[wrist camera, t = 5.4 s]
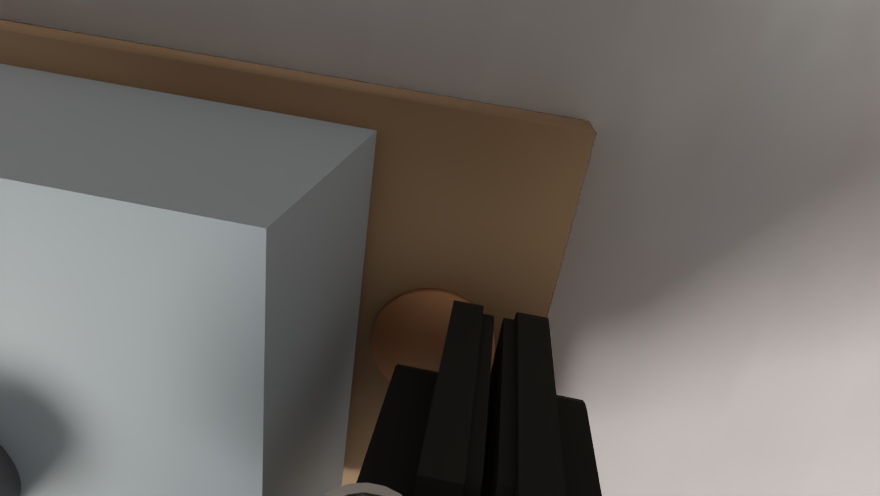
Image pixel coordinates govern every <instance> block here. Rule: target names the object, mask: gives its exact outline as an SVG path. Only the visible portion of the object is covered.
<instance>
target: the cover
mask: <svg viewBox="0 0 880 496" xmlns="http://www.w3.org/2000/svg"><path fill="white" fill-rule="evenodd" d="M376 135H377V130H372V129H366V128H360V127H355V126H349V125H344V124H338V123H332V122H327V121H321V120H315V119H310V118H304V117H298V116H293V115H287V114H282V113H276V112H270V111H265V110H259V109H253V108H248V107H242V106H237V105H231V104H225V103H220V102H214V101H208V100H203V99H197V98H191V97H186V96H180V95H175V94H169V93H163V92H158V91H152V90H146V89H141V88H135V87H130V86H124V85H118V84H113V83H107V82H101V81H96V80H90V79H84V78H79V77H73V76H68V75H62V74H56V73H51V72H45V71H39V70H34V69H28V68H23V67H17V66H11V65H6V64H0V496H323V495H324V494H326V493H327V492H329V491H330V490H332V489H335V488H338V487H341V486H342V478H343V468H344V457H345V447H346V437H347V427H348V417H349V407H350V397H351V387H352V377H353V367H354V357H355V347H356V336H357V326H358V316H359V306H360V296H361V286H362V276H363V266H364V256H365V246H366V236H367V226H368V215H369V205H370V195H371V185H372V175H373V165H374V155H375V145H376Z"/></svg>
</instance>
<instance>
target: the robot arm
mask: <svg viewBox="0 0 880 496" xmlns="http://www.w3.org/2000/svg"><path fill="white" fill-rule="evenodd" d="M483 309H484V306H483V305H478V304H472V303H467V302H462V301H456V300H454V302H453V306H452V311H451V316H450V321H449V325H448V330H447V335H446V339H445V344H444V349H443V354H442V358H441V363H440V368H439V372H436V371H431V370H426V369H420V368H415V367H410V366H405V365H400V364H397V365H396V367H395V369H394V372H393V375H392V378H391V381H390V384H389V387H388V390H387V393H386V396H385V399H384V402H383V405H382V408H381V411H380V414H379V417H378V419H377V422H376V425H375V428H374V431H373V434H372V437H371V440H370V443H369V446H368V449H367V452H366V455H365V458H364V461H363V464H362V467H361V470H360V473H359V476H358V479H357V482H356V483H352V484H347V485H344V486H341V487H338V488H335V489H332V490H330V491H329V492H327V493H326V494H324V495H323V496H602V495H601V489H600V483H599V477H598V472H597V466H596V460H595V454H594V449H593V443H592V437H591V431H590V426H589V420H588V414H587V409H586V405H585V403H584V401H583V400H579V399H574V398H569V397H564V396H559V395H556V389H555V379H554V369H553V359H552V349H551V340H550V330H549V321H548V318H547V317H542V316H536V315H531V314H526V313H520V312H517V313H516V315H515V318H514V319H508V318H503V321H502V325H501V329H500V334H499V338H498V343H497V347H496V352H495V356H494V361H493V365H492V370H491V357H492V343H493V329H494V316H492V315H487V314H483ZM490 371H491V374H490Z"/></svg>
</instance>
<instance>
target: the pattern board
mask: <svg viewBox="0 0 880 496" xmlns="http://www.w3.org/2000/svg"><path fill="white" fill-rule="evenodd" d="M0 64H6V65H11V66H17V67H23V68H28V69H34V70H39V71H45V72H51V73H56V74H62V75H68V76H73V77H79V78H84V79H90V80H96V81H101V82H107V83H113V84H118V85H124V86H130V87H135V88H141V89H146V90H152V91H158V92H163V93H169V94H175V95H180V96H186V97H191V98H197V99H203V100H208V101H214V102H220V103H225V104H231V105H237V106H242V107H248V108H253V109H259V110H265V111H270V112H276V113H282V114H287V115H293V116H298V117H304V118H310V119H315V120H321V121H327V122H332V123H338V124H344V125H349V126H355V127H360V128H366V129H372V130H377V135H376V145H375V155H374V165H373V175H372V185H371V195H370V205H369V215H368V226H367V236H366V246H365V256H364V266H363V276H362V286H361V296H360V306H359V316H358V326H357V336H356V347H355V357H354V367H353V377H352V387H351V397H350V407H349V417H348V427H347V437H346V447H345V457H344V468H343V478H342V486H344V485H347V484H352V483H356V482H357V479H358V476H359V473H360V470H361V467H362V464H363V461H364V458H365V455H366V452H367V449H368V446H369V443H370V440H371V437H372V434H373V431H374V428H375V425H376V422H377V419H378V417H379V414H380V411H381V408H382V405H383V402H384V399H385V396H386V393H387V390H388V387H389V384H390V381H391V378H392V375H393V372H394V369H395V367H396V365H397V364H400V365H405V366H410V367H415V368H420V369H426V370H431V371H436V372H439V368H440V363H441V358H442V354H443V349H444V344H445V339H446V335H447V330H448V325H449V321H450V316H451V311H452V306H453V302H454V300H456V301H462V302H467V303H472V304H478V305H483V306H484V309H483V314H487V315H492V316H494V329H493V343H492V357H491V370H492V365H493V361H494V356H495V352H496V347H497V343H498V338H499V334H500V329H501V325H502V321H503V318H508V319H514V318H515V315H516V313H517V312H520V313H526V314H531V315H536V316H542V317H547V315H548V312H549V308H550V304H551V301H552V297H553V293H554V289H555V286H556V282H557V278H558V274H559V271H560V267H561V263H562V259H563V256H564V252H565V248H566V245H567V241H568V237H569V233H570V230H571V226H572V222H573V218H574V215H575V211H576V207H577V203H578V200H579V196H580V192H581V189H582V185H583V181H584V177H585V174H586V170H587V166H588V162H589V159H590V155H591V151H592V147H593V144H594V140H595V136H596V132H595V130H594V129H593V127H592V125H591V124H590V122H589V121H585V120H580V119H574V118H568V117H562V116H556V115H551V114H545V113H539V112H533V111H527V110H522V109H516V108H510V107H504V106H498V105H493V104H487V103H481V102H475V101H470V100H464V99H458V98H452V97H446V96H441V95H435V94H429V93H423V92H417V91H412V90H406V89H400V88H394V87H388V86H383V85H377V84H371V83H365V82H360V81H354V80H348V79H342V78H336V77H331V76H325V75H319V74H313V73H307V72H302V71H296V70H290V69H284V68H278V67H273V66H267V65H261V64H255V63H250V62H244V61H238V60H232V59H226V58H221V57H215V56H209V55H203V54H197V53H192V52H186V51H180V50H174V49H168V48H163V47H157V46H151V45H145V44H140V43H134V42H128V41H122V40H116V39H111V38H105V37H99V36H93V35H87V34H82V33H76V32H70V31H64V30H58V29H53V28H47V27H41V26H35V25H30V24H24V23H18V22H12V21H6V20H1V19H0ZM490 374H491V371H490Z"/></svg>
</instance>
